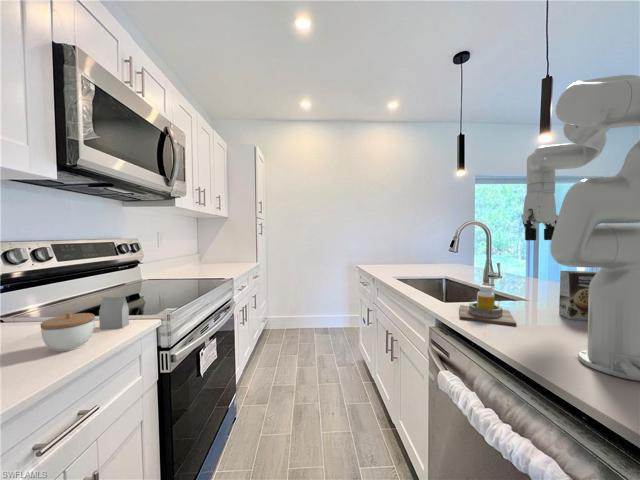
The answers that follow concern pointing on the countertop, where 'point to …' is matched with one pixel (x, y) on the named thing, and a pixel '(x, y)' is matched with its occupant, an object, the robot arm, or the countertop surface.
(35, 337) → the countertop surface
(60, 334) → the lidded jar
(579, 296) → the cookie box
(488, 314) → the mount board
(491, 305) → the supplement bottle
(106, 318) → the grey gabled block
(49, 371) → the countertop surface
